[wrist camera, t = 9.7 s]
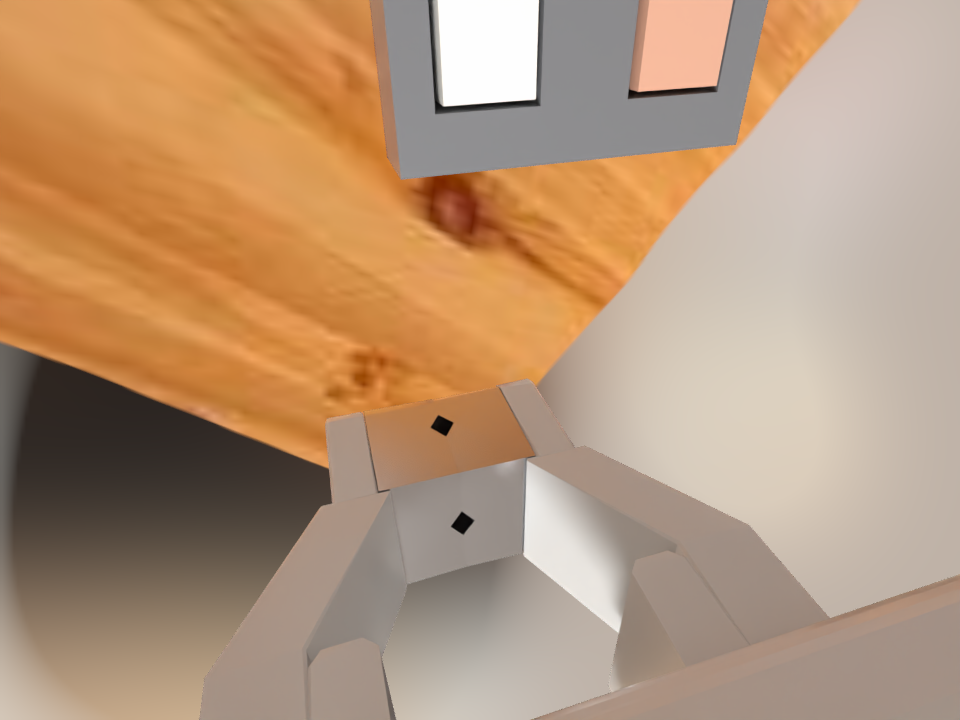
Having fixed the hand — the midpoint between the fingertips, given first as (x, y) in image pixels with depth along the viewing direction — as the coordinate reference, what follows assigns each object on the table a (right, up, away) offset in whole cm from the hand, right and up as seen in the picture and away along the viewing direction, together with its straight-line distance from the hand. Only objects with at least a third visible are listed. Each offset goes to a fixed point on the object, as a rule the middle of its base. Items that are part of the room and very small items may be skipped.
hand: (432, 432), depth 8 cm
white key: (0, +18, +21) cm, 28 cm away
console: (+5, +20, +25) cm, 32 cm away
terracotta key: (+11, +20, +24) cm, 33 cm away
